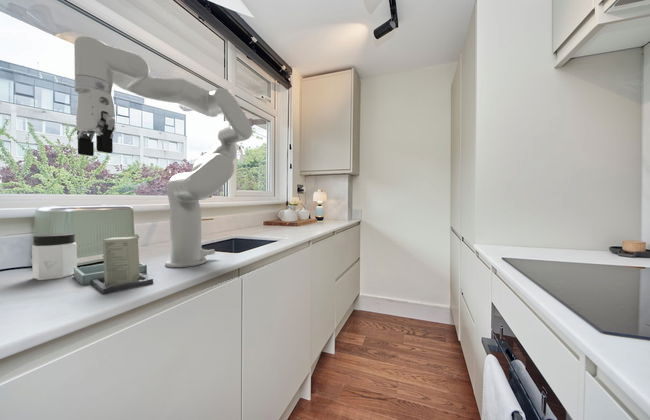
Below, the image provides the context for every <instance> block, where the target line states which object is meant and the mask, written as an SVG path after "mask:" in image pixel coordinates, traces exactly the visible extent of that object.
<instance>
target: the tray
mask: <svg viewBox="0 0 650 420" xmlns="http://www.w3.org/2000/svg"><path fill="white" fill-rule="evenodd" d="M147 268H148V267H147V264H145V263H142V262H140V261H139V272H140V273H142V274H144V275H147V271H148V269H147ZM103 277H104V263H100V264H99V263H98V264H93V265H87V266H80V267H77V268H74V275H73V278H75V280H76V281H78V282H79V283H80V284H81V285H82V286H86V285H92V284H91V280H92V279H97V278H103Z"/></svg>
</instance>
